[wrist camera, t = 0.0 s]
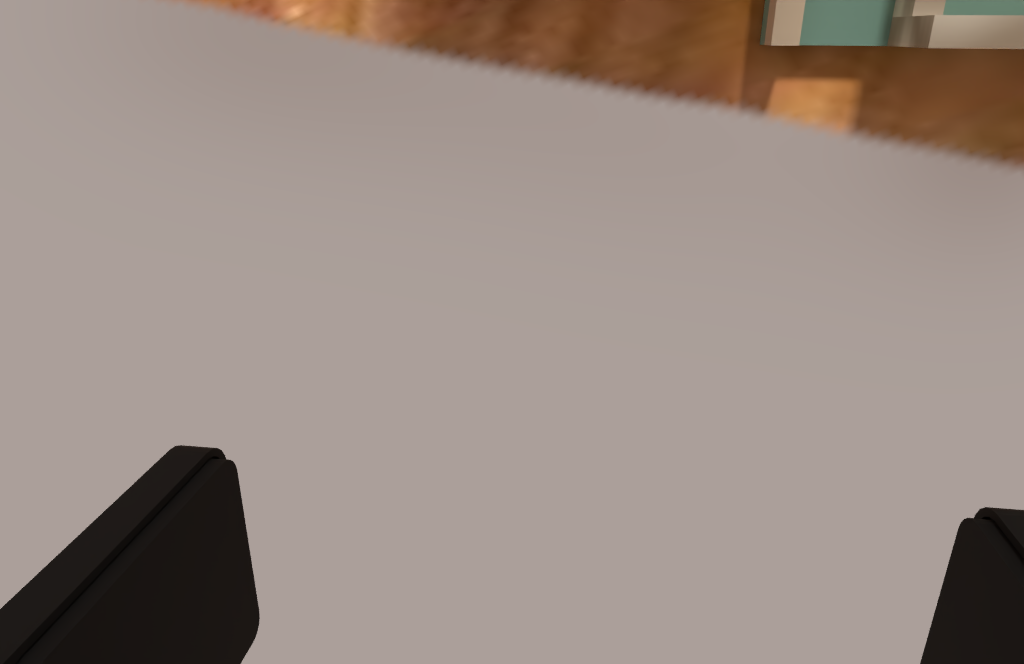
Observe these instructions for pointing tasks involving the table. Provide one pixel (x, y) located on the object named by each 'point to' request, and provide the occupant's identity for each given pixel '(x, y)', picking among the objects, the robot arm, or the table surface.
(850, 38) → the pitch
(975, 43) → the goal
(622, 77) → the table surface
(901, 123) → the table surface
